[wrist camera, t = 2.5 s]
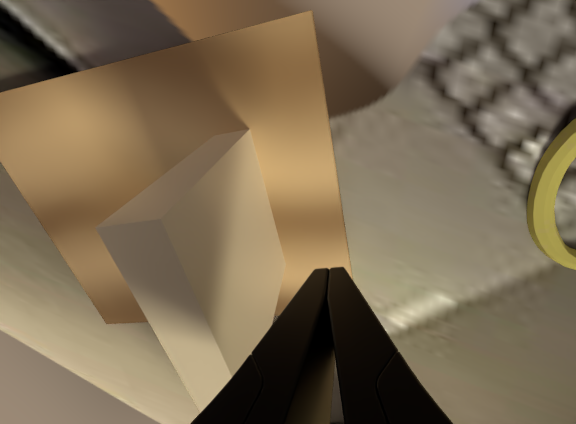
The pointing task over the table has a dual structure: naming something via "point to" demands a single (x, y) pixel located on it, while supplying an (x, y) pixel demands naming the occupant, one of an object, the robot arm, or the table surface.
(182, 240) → the tile
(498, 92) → the table surface
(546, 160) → the key
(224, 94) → the mat
